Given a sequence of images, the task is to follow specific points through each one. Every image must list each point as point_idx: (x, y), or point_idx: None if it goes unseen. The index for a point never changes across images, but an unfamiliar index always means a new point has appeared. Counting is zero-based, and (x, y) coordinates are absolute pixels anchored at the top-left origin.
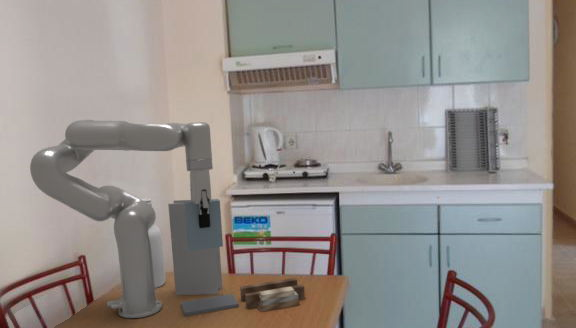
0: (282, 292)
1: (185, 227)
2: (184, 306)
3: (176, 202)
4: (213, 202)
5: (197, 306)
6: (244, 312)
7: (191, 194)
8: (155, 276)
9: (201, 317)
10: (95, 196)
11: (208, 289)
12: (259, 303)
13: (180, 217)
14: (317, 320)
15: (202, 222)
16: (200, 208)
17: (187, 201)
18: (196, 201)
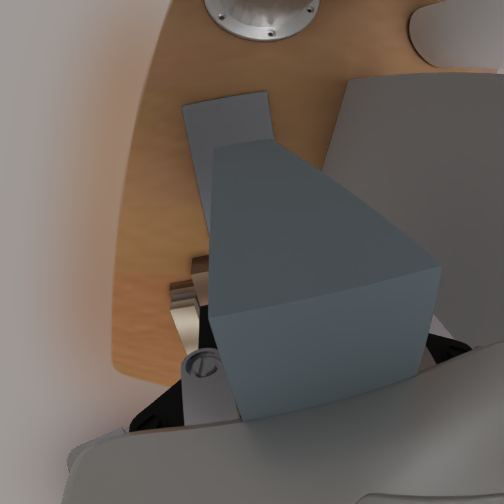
0: (185, 346)
1: (476, 150)
2: (229, 101)
3: None
4: None
5: (219, 137)
6: (174, 251)
7: (440, 495)
8: (426, 37)
9: (165, 149)
10: None
11: (327, 168)
12: (188, 289)
13: None
14: (122, 362)
15: (201, 317)
16: (187, 417)
17: None
18: (67, 485)
